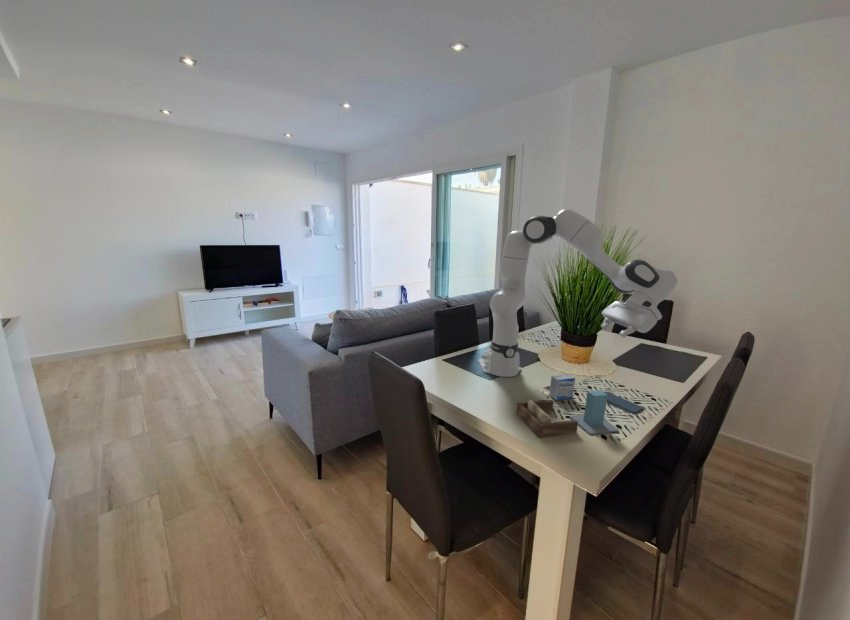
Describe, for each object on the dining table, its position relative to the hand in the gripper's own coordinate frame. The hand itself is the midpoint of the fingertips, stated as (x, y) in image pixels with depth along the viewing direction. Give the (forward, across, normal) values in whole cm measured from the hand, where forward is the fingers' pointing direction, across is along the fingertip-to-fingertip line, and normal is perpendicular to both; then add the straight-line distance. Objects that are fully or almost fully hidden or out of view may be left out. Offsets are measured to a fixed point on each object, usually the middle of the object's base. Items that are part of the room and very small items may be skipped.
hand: (611, 331), depth 128 cm
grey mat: (+30, +14, +10) cm, 34 cm away
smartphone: (+16, +2, +25) cm, 30 cm away
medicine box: (+30, -6, +11) cm, 32 cm away
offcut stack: (+43, +10, -2) cm, 44 cm away
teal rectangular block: (+29, +14, +10) cm, 34 cm away
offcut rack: (+41, +10, -1) cm, 42 cm away
